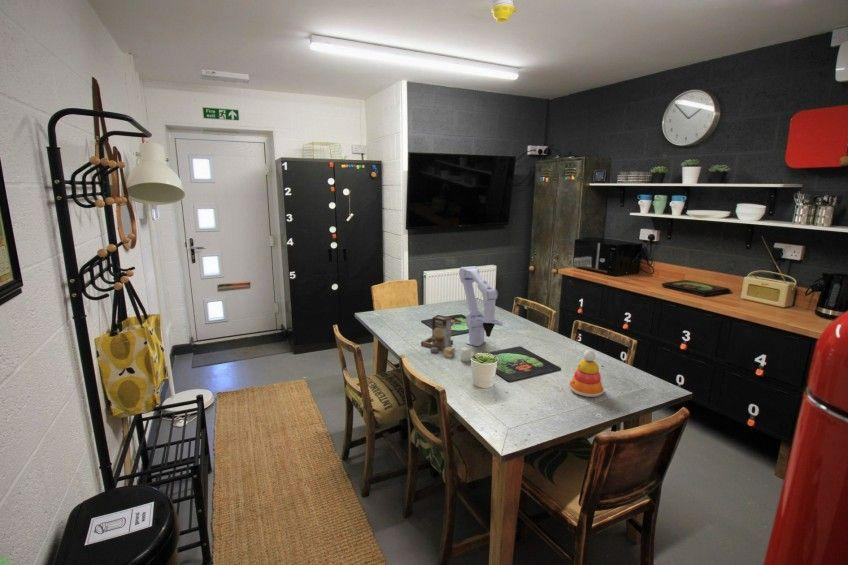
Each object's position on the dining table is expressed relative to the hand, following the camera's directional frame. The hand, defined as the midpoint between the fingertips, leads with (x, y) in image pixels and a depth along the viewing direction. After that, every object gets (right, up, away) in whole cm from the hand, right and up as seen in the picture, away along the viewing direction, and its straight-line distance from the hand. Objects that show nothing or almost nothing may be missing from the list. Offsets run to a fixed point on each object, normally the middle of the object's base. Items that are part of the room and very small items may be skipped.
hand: (488, 336), depth 219 cm
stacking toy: (+37, -19, -38) cm, 56 cm away
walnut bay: (-26, -7, +13) cm, 30 cm away
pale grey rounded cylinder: (-13, -11, -7) cm, 18 cm away
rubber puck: (-29, -9, +3) cm, 30 cm away
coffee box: (-24, -7, +13) cm, 29 cm away
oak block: (-21, -10, -1) cm, 23 cm away
